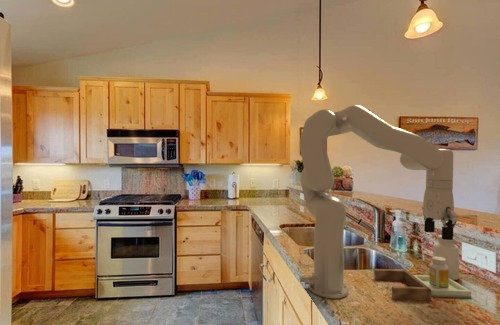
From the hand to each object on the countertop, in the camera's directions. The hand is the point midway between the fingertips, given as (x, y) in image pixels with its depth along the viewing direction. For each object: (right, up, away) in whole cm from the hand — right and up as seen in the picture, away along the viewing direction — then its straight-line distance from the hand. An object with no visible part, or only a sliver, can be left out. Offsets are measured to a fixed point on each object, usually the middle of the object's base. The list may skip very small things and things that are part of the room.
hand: (437, 235), depth 92 cm
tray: (0, -18, 0) cm, 18 cm away
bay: (-14, -18, 0) cm, 22 cm away
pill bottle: (+10, -18, +10) cm, 23 cm away
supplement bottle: (0, -18, 0) cm, 18 cm away
